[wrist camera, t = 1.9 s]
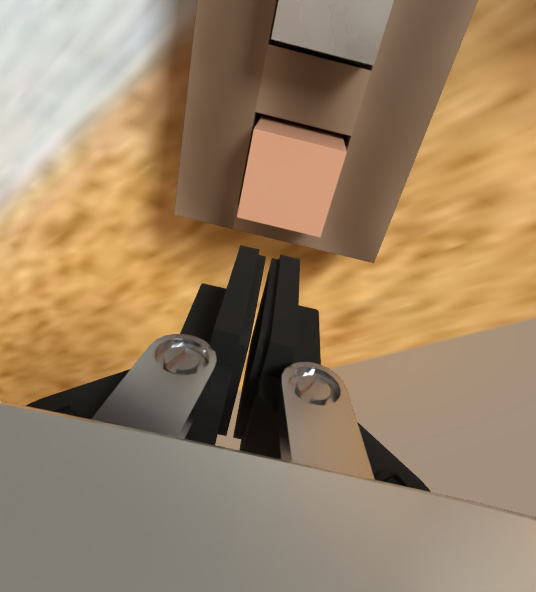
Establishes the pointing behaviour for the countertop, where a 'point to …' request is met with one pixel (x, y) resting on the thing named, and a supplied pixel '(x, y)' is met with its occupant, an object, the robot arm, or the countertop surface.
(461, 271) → the countertop surface
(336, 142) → the salmon pink cube
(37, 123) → the countertop surface
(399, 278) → the countertop surface
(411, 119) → the key panel
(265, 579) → the robot arm
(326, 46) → the grey cube
